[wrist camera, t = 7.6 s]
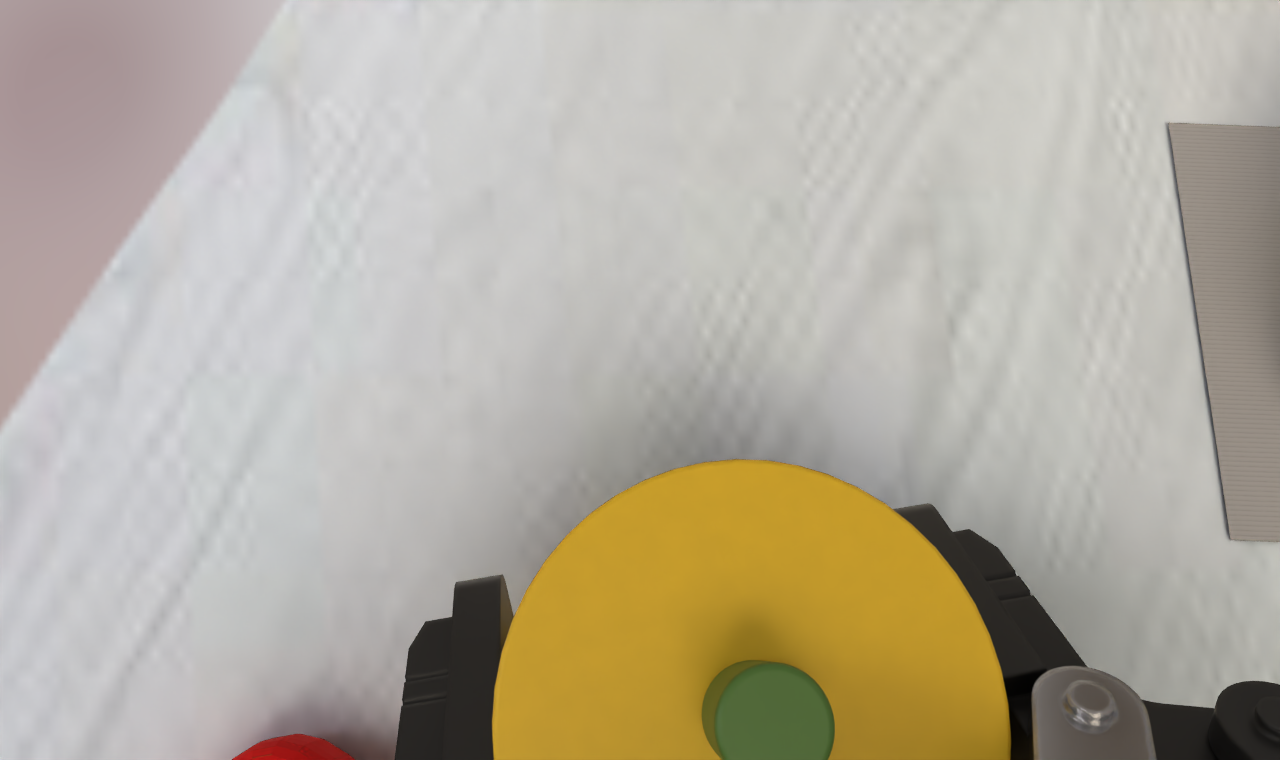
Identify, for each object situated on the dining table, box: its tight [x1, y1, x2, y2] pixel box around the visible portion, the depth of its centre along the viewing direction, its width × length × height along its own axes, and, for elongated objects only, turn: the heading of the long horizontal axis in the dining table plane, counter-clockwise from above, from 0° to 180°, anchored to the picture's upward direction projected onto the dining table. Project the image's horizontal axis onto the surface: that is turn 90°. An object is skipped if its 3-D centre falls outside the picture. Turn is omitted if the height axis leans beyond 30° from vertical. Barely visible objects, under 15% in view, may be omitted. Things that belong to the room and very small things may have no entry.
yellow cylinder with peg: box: [492, 459, 1011, 760], centre depth 13 cm, size 6×6×10 cm
